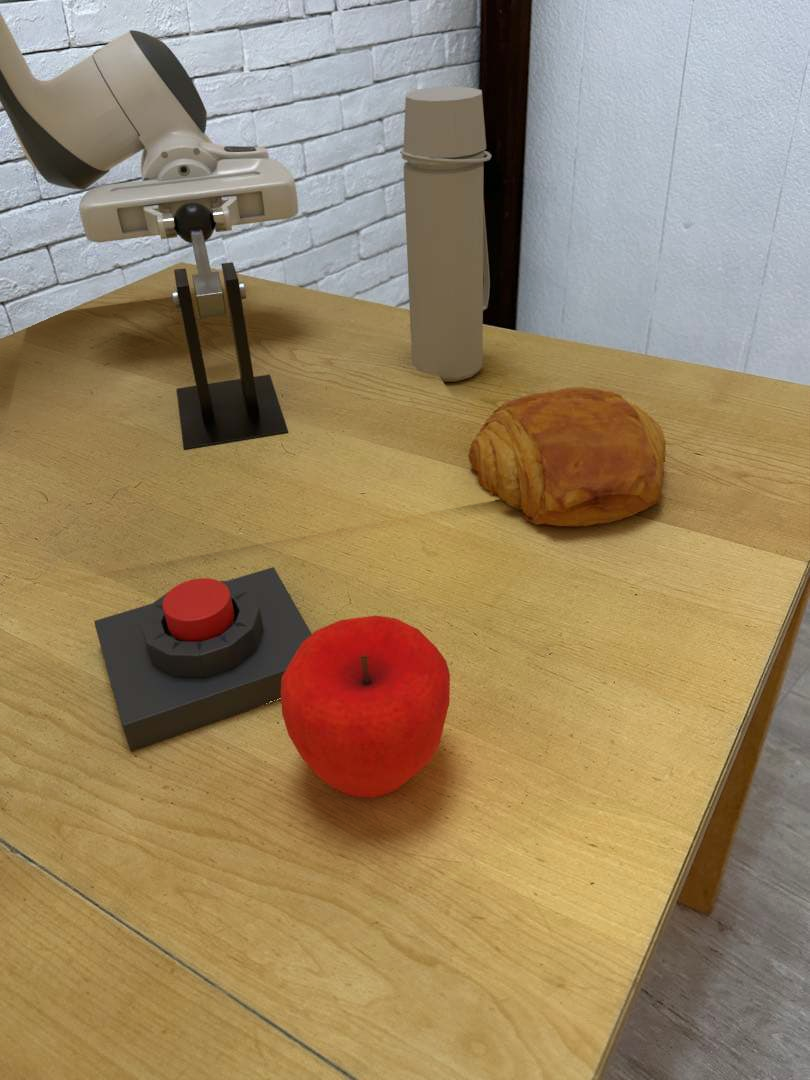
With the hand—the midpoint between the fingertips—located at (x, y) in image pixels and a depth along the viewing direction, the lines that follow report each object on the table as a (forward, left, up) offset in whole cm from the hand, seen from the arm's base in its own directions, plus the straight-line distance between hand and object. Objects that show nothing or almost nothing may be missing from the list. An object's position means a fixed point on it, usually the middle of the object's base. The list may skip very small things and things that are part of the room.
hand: (195, 225), depth 81 cm
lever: (-1, -3, -3) cm, 4 cm away
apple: (-6, -51, -16) cm, 54 cm away
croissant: (+19, -32, -16) cm, 41 cm away
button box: (-12, -39, -15) cm, 44 cm away
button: (-12, -39, -12) cm, 43 cm away
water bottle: (+21, -8, -16) cm, 28 cm away
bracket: (-2, -8, -15) cm, 18 cm away
